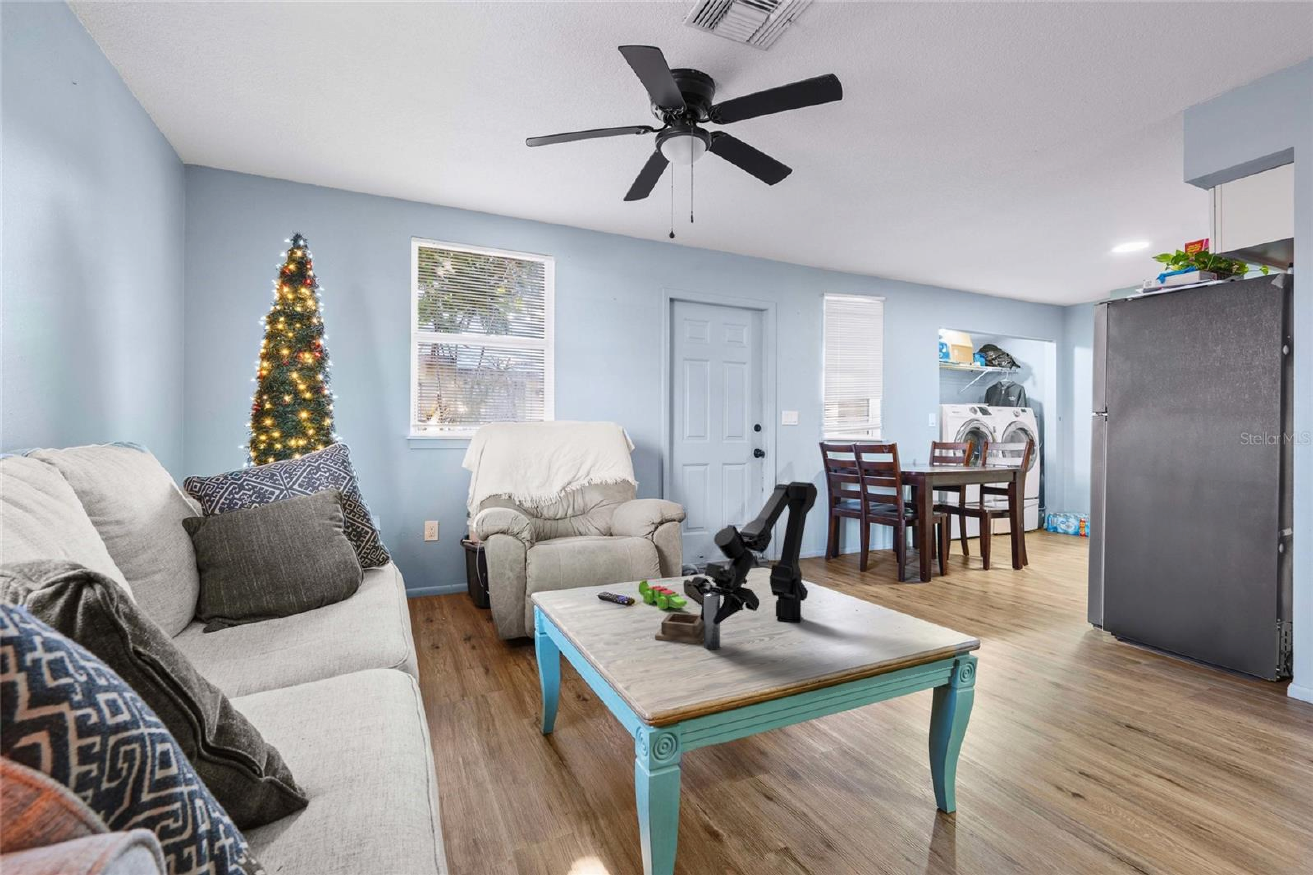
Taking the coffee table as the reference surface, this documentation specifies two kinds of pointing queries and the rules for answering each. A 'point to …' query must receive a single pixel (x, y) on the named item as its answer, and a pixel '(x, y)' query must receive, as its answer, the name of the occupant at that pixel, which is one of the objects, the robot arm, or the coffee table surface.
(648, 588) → the toy crocodile
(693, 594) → the hand tool
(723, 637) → the coffee table surface
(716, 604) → the steel pin
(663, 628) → the walnut box
